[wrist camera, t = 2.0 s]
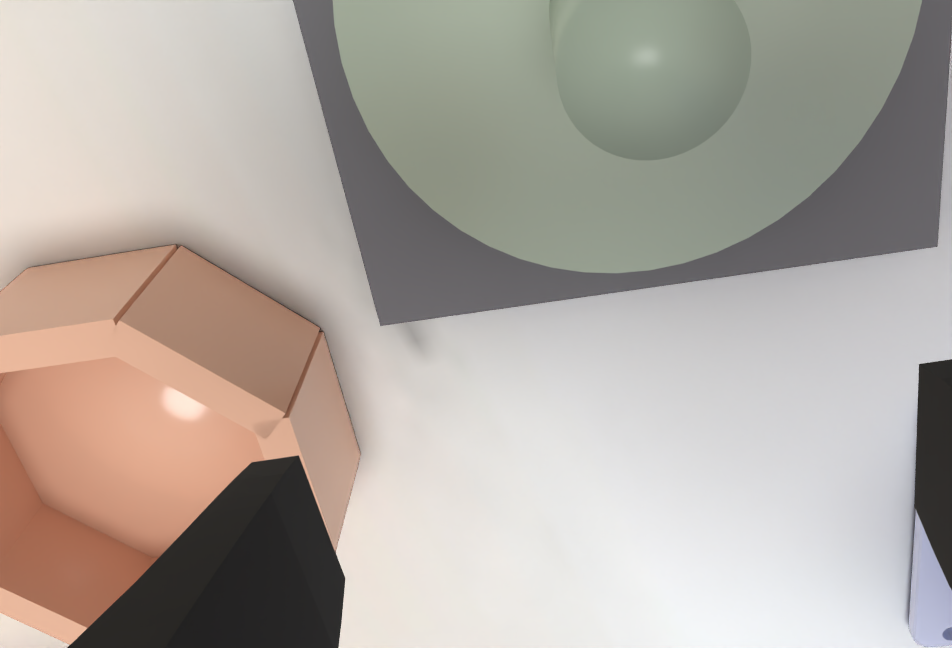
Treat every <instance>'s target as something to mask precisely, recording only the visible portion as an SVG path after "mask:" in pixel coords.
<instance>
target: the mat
mask: <svg viewBox="0 0 952 648" xmlns="http://www.w3.org/2000/svg"><path fill="white" fill-rule="evenodd" d="M293 2H294V6H295V10H296V13H297V17H298V21H299V24H300V28H301V32H302V36H303V39H304V43H305V47H306V51H307V54H308V58H309V62H310V65H311V69H312V73H313V77H314V80H315V84H316V88H317V91H318V95H319V99H320V103H321V106H322V110H323V114H324V118H325V121H326V125H327V129H328V132H329V136H330V140H331V144H332V147H333V151H334V155H335V158H336V162H337V166H338V170H339V173H340V177H341V181H342V184H343V188H344V192H345V196H346V199H347V203H348V207H349V211H350V214H351V218H352V222H353V225H354V229H355V233H356V237H357V240H358V244H359V248H360V251H361V255H362V259H363V263H364V266H365V270H366V274H367V278H368V281H369V285H370V289H371V292H372V296H373V300H374V304H375V307H376V311H377V315H378V318H379V322H380V326H383V325H390V324H397V323H404V322H411V321H418V320H425V319H432V318H439V317H446V316H453V315H460V314H467V313H475V312H482V311H489V310H496V309H503V308H510V307H517V306H524V305H531V304H538V303H545V302H552V301H559V300H566V299H573V298H580V297H587V296H594V295H601V294H608V293H615V292H622V291H629V290H636V289H643V288H650V287H657V286H664V285H671V284H678V283H685V282H692V281H699V280H706V279H713V278H720V277H727V276H734V275H741V274H749V273H756V272H763V271H770V270H777V269H784V268H791V267H798V266H805V265H812V264H819V263H826V262H833V261H840V260H847V259H854V258H861V257H868V256H875V255H882V254H889V253H896V252H903V251H910V250H917V249H924V248H931V247H937V245H938V230H939V214H940V199H941V184H942V168H943V153H944V138H945V122H946V107H947V92H948V76H949V61H950V46H951V30H952V0H922V3H921V8H920V12H919V16H918V20H917V24H916V29H915V33H914V36H913V39H912V42H911V44H910V47H909V50H908V52H907V55H906V58H905V61H904V63H903V66H902V69H901V71H900V74H899V76H898V78H897V80H896V82H895V84H894V86H893V88H892V90H891V92H890V94H889V96H888V97H887V99H886V101H885V103H884V105H883V107H882V109H881V111H880V112H879V114H878V115H877V117H876V118H875V120H874V121H873V123H872V124H871V126H870V127H869V129H868V130H867V132H866V133H865V135H864V136H863V138H862V139H861V141H860V142H859V143H858V145H857V146H856V147H855V148H854V149H853V151H852V152H851V153H850V154H849V155H848V157H847V158H846V159H845V160H844V161H843V163H842V164H841V165H840V166H839V167H838V169H837V170H836V171H835V172H834V173H833V174H832V175H831V176H830V177H829V178H828V179H827V180H826V181H825V182H823V183H822V184H821V185H820V186H819V187H818V188H817V189H816V190H815V191H814V192H813V193H812V194H811V195H810V196H809V197H808V198H806V199H805V200H804V201H802V202H801V203H800V204H799V205H797V206H796V207H795V208H793V209H792V210H791V211H789V212H788V213H787V214H785V215H784V216H783V217H782V218H780V219H779V220H777V221H775V222H774V223H772V224H771V225H769V226H767V227H766V228H764V229H762V230H761V231H759V232H757V233H756V234H754V235H752V236H751V237H749V238H747V239H745V240H743V241H740V242H738V243H736V244H734V245H732V246H730V247H727V248H725V249H723V250H721V251H719V252H716V253H713V254H710V255H707V256H704V257H701V258H698V259H695V260H692V261H689V262H686V263H683V264H678V265H673V266H668V267H664V268H659V269H654V270H648V271H636V272H625V273H590V272H578V271H571V270H565V269H558V268H551V267H547V266H544V265H540V264H536V263H533V262H529V261H525V260H522V259H519V258H516V257H514V256H511V255H509V254H506V253H504V252H502V251H499V250H497V249H494V248H492V247H489V246H488V245H486V244H484V243H482V242H480V241H479V240H477V239H475V238H473V237H471V236H470V235H468V234H466V233H464V232H463V231H461V230H459V229H458V228H457V227H455V226H454V225H453V224H451V223H450V222H448V221H447V220H446V219H444V218H443V217H442V216H440V215H439V214H438V213H436V212H435V211H434V210H433V209H431V208H430V207H429V206H428V205H427V204H426V203H425V202H424V201H423V200H422V199H421V198H420V197H419V196H418V195H417V194H416V193H415V192H414V191H413V190H411V189H410V188H409V187H408V185H407V184H406V183H405V182H404V180H403V179H402V178H401V177H400V176H399V174H398V173H397V172H396V171H395V169H394V168H393V167H392V166H391V165H390V163H389V162H388V161H387V159H386V158H385V156H384V155H383V153H382V151H381V150H380V148H379V147H378V145H377V144H376V142H375V140H374V139H373V137H372V136H371V134H370V132H369V131H368V129H367V127H366V124H365V122H364V120H363V118H362V116H361V114H360V112H359V110H358V107H357V105H356V103H355V101H354V99H353V96H352V93H351V90H350V87H349V84H348V81H347V78H346V75H345V72H344V68H343V65H342V62H341V57H340V52H339V47H338V41H337V36H336V31H335V26H334V13H333V0H293Z"/></svg>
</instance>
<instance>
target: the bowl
mask: <svg viewBox="0 0 952 648" xmlns="http://www.w3.org/2000/svg"><path fill="white" fill-rule="evenodd" d="M319 330H320V327H318V326H316V325H314V324H313V323H311V322H309V321H308V320H306V319H304V318H303V317H301V316H299V315H298V314H296V313H294V312H293V311H291V310H289V309H287V308H286V307H284V306H282V305H281V304H279V303H277V302H276V301H274V300H272V299H271V298H269V297H267V296H266V295H264V294H262V293H260V292H259V291H257V290H255V289H254V288H252V287H250V286H249V285H247V284H245V283H244V282H242V281H240V280H239V279H237V278H235V277H234V276H232V275H230V274H228V273H227V272H225V271H223V270H222V269H220V268H218V267H217V266H215V265H213V264H212V263H210V262H208V261H207V260H205V259H203V258H201V257H200V256H198V255H196V254H195V253H193V252H191V251H190V250H188V249H186V248H185V247H183V246H180V247H179V249H177V246H176V244H175V245H169V246H162V247H156V248H150V249H143V250H137V251H131V252H125V253H118V254H112V255H106V256H99V257H93V258H87V259H81V260H74V261H68V262H62V263H55V264H49V265H43V266H37V267H30V268H27V269H26V270H24V271H23V272H22V273H21V274H20V275H19V276H17V277H16V278H15V279H14V280H13V281H12V282H11V283H9V284H8V285H7V286H6V287H5V288H4V289H3V290H1V291H0V613H2V614H4V615H6V616H9V617H11V618H13V619H15V620H17V621H19V622H22V623H24V624H26V625H28V626H30V627H33V628H35V629H37V630H39V631H41V632H43V633H46V634H48V635H50V636H52V637H54V638H57V639H59V640H61V641H63V642H65V643H67V644H70V645H71V644H72V643H73V642H74V641H75V640H76V639H77V638H78V637H79V636H80V635H81V634H82V633H83V632H84V631H85V630H86V629H87V628H88V627H89V626H90V625H91V624H92V623H93V622H94V621H96V620H97V619H98V618H99V617H100V616H101V615H102V614H103V613H104V612H105V611H106V610H107V609H108V608H109V607H110V606H111V605H112V604H113V603H114V602H115V601H116V600H117V599H118V598H119V597H120V596H121V595H122V594H124V593H125V592H126V591H127V590H128V589H129V588H130V587H131V586H132V585H133V584H134V583H135V582H136V581H137V580H138V579H139V578H140V577H141V576H142V575H143V574H144V573H145V572H146V571H147V569H148V568H149V567H150V566H151V565H152V564H153V563H154V562H155V561H156V560H157V559H158V558H159V557H160V556H161V555H162V554H163V553H164V552H165V551H166V550H167V549H168V548H169V547H170V546H171V544H172V543H173V542H174V541H175V540H176V539H177V538H178V537H179V536H180V535H181V534H182V533H183V532H184V531H185V530H186V529H187V528H188V527H189V526H190V525H191V524H192V522H193V521H194V520H195V519H196V518H197V517H198V516H199V515H200V514H201V513H202V512H203V511H204V510H205V509H206V508H207V507H208V505H209V504H210V503H211V502H212V501H213V500H214V499H215V498H216V497H217V496H218V495H219V494H220V493H221V492H222V491H223V490H224V489H225V488H226V487H227V486H228V485H229V484H230V483H231V482H232V481H233V480H234V479H235V478H236V477H237V476H238V475H239V474H240V473H241V472H242V471H243V470H244V469H245V468H246V467H247V466H248V465H249V464H250V463H251V462H257V461H264V460H271V459H277V458H284V457H291V456H298V455H299V457H300V460H301V462H302V465H303V468H304V470H305V473H306V476H307V478H308V481H309V484H310V486H311V489H312V492H313V494H314V497H315V500H316V502H317V505H318V508H319V510H320V513H321V516H322V518H323V521H324V524H325V526H326V529H327V532H328V534H329V537H330V540H331V542H332V545H333V548H334V550H335V553H336V549H337V545H338V541H339V537H340V533H341V530H342V526H343V522H344V518H345V514H346V510H347V506H348V503H349V499H350V495H351V491H352V487H353V483H354V480H355V476H356V472H357V468H358V464H359V460H360V455H361V454H360V450H359V447H358V444H357V441H356V437H355V434H354V431H353V427H352V424H351V421H350V418H349V414H348V411H347V408H346V404H345V401H344V398H343V395H342V391H341V388H340V385H339V381H338V378H337V375H336V372H335V368H334V365H333V362H332V358H331V355H330V352H329V349H328V345H327V342H326V339H325V335H324V332H319Z"/></svg>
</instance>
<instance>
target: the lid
mask: <svg viewBox="0 0 952 648" xmlns="http://www.w3.org/2000/svg"><path fill="white" fill-rule="evenodd" d="M921 3H922V0H333V13H334V26H335V31H336V36H337V41H338V47H339V52H340V57H341V62H342V65H343V68H344V72H345V75H346V78H347V81H348V84H349V87H350V90H351V93H352V96H353V99H354V101H355V103H356V105H357V107H358V110H359V112H360V114H361V116H362V118H363V120H364V122H365V124H366V127H367V129H368V131H369V132H370V134H371V136H372V137H373V139H374V140H375V142H376V144H377V145H378V147H379V148H380V150H381V151H382V153H383V155H384V156H385V158H386V159H387V161H388V162H389V163H390V165H391V166H392V167H393V168H394V169H395V171H396V172H397V173H398V174H399V176H400V177H401V178H402V179H403V180H404V182H405V183H406V184H407V185H408V187H409V188H410V189H411V190H413V191H414V192H415V193H416V194H417V195H418V196H419V197H420V198H421V199H422V200H423V201H424V202H425V203H426V204H427V205H428V206H429V207H430V208H431V209H433V210H434V211H435V212H436V213H438V214H439V215H440V216H442V217H443V218H444V219H446V220H447V221H448V222H450V223H451V224H453V225H454V226H455V227H457V228H458V229H459V230H461V231H463V232H464V233H466V234H468V235H470V236H471V237H473V238H475V239H477V240H479V241H480V242H482V243H484V244H486V245H488V246H489V247H492V248H494V249H497V250H499V251H502V252H504V253H506V254H509V255H511V256H514V257H516V258H519V259H522V260H525V261H529V262H533V263H536V264H540V265H544V266H547V267H551V268H558V269H565V270H571V271H578V272H590V273H625V272H636V271H648V270H654V269H659V268H664V267H668V266H673V265H678V264H683V263H686V262H689V261H692V260H695V259H698V258H701V257H704V256H707V255H710V254H713V253H716V252H719V251H721V250H723V249H725V248H727V247H730V246H732V245H734V244H736V243H738V242H740V241H743V240H745V239H747V238H749V237H751V236H752V235H754V234H756V233H757V232H759V231H761V230H762V229H764V228H766V227H767V226H769V225H771V224H772V223H774V222H775V221H777V220H779V219H780V218H782V217H783V216H784V215H785V214H787V213H788V212H789V211H791V210H792V209H793V208H795V207H796V206H797V205H799V204H800V203H801V202H802V201H804V200H805V199H806V198H808V197H809V196H810V195H811V194H812V193H813V192H814V191H815V190H816V189H817V188H818V187H819V186H820V185H821V184H822V183H823V182H825V181H826V180H827V179H828V178H829V177H830V176H831V175H832V174H833V173H834V172H835V171H836V170H837V169H838V167H839V166H840V165H841V164H842V163H843V161H844V160H845V159H846V158H847V157H848V155H849V154H850V153H851V152H852V151H853V149H854V148H855V147H856V146H857V145H858V143H859V142H860V141H861V139H862V138H863V136H864V135H865V133H866V132H867V130H868V129H869V127H870V126H871V124H872V123H873V121H874V120H875V118H876V117H877V115H878V114H879V112H880V111H881V109H882V107H883V105H884V103H885V101H886V99H887V97H888V96H889V94H890V92H891V90H892V88H893V86H894V84H895V82H896V80H897V78H898V76H899V74H900V71H901V69H902V66H903V63H904V61H905V58H906V55H907V52H908V50H909V47H910V44H911V42H912V39H913V36H914V33H915V29H916V24H917V20H918V16H919V12H920V8H921Z"/></svg>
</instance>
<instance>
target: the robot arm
mask: <svg viewBox="0 0 952 648" xmlns="http://www.w3.org/2000/svg"><path fill="white" fill-rule="evenodd" d="M915 509H916V516H915V533H914V549H913V565H912V581H911V597H910V613H909V630H910V633H911V635H912V637H913V639H914V641H915V642H916V643H917V644H919V645H921V646H924V647H937V646H949V645H952V359H951V360H945V361H938V362H931V363H924V364H919V385H918V416H917V447H916V478H915ZM344 586H345V577H344V574H343V571H342V569H341V566H340V564H339V561H338V558H337V556H336V553H335V550H334V548H333V545H332V542H331V540H330V537H329V534H328V532H327V529H326V526H325V524H324V521H323V518H322V516H321V513H320V510H319V508H318V505H317V502H316V500H315V497H314V494H313V492H312V489H311V486H310V484H309V481H308V478H307V476H306V473H305V470H304V468H303V465H302V462H301V460H300V457H299V455H298V456H291V457H284V458H277V459H271V460H264V461H257V462H251V463H250V464H249V465H248V466H247V467H246V468H245V469H244V470H243V471H242V472H241V473H240V474H239V475H238V476H237V477H236V478H235V479H234V480H233V481H232V482H231V483H230V484H229V485H228V486H227V487H226V488H225V489H224V490H223V491H222V492H221V493H220V494H219V495H218V496H217V497H216V498H215V499H214V500H213V501H212V502H211V503H210V504H209V505H208V507H207V508H206V509H205V510H204V511H203V512H202V513H201V514H200V515H199V516H198V517H197V518H196V519H195V520H194V521H193V522H192V524H191V525H190V526H189V527H188V528H187V529H186V530H185V531H184V532H183V533H182V534H181V535H180V536H179V537H178V538H177V539H176V540H175V541H174V542H173V543H172V544H171V546H170V547H169V548H168V549H167V550H166V551H165V552H164V553H163V554H162V555H161V556H160V557H159V558H158V559H157V560H156V561H155V562H154V563H153V564H152V565H151V566H150V567H149V568H148V569H147V571H146V572H145V573H144V574H143V575H142V576H141V577H140V578H139V579H138V580H137V581H136V582H135V583H134V584H133V585H132V586H131V587H130V588H129V589H128V590H127V591H126V592H125V593H124V594H122V595H121V596H120V597H119V598H118V599H117V600H116V601H115V602H114V603H113V604H112V605H111V606H110V607H109V608H108V609H107V610H106V611H105V612H104V613H103V614H102V615H101V616H100V617H99V618H98V619H97V620H96V621H94V622H93V623H92V624H91V625H90V626H89V627H88V628H87V629H86V630H85V631H84V632H83V633H82V634H81V635H80V636H79V637H78V638H77V639H76V640H75V641H74V642H73V643H72V644H71V645H70V646H69V647H68V648H338V645H339V637H340V629H341V620H342V609H343V598H344ZM949 627H951V628H949Z"/></svg>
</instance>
